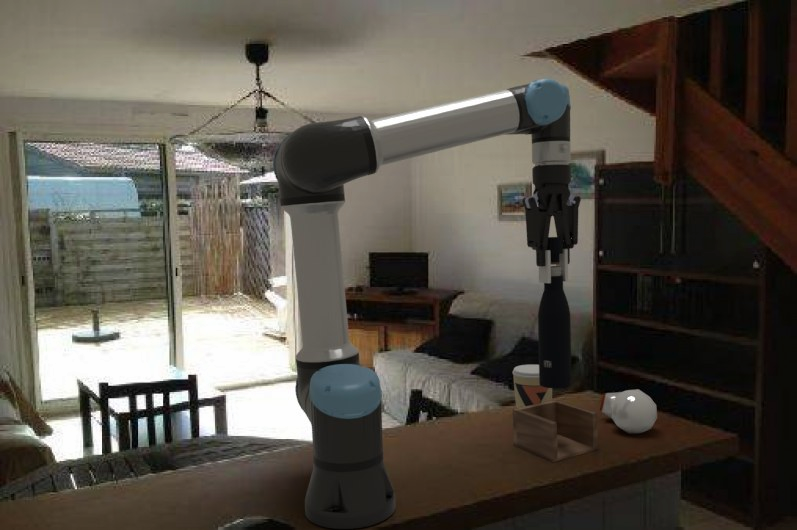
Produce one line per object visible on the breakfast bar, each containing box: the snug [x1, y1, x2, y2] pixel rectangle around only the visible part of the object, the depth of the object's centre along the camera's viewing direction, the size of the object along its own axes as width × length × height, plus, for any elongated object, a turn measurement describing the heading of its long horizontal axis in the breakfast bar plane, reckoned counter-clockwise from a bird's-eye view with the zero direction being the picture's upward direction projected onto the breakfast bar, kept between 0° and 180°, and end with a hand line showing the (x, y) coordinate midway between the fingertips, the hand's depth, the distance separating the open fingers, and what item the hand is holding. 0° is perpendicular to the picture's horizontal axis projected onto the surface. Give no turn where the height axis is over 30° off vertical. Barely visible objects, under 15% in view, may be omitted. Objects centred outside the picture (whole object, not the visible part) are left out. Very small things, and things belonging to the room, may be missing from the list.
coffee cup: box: [512, 364, 553, 409], centre depth 160 cm, size 9×9×12 cm
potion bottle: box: [599, 389, 658, 434], centre depth 151 cm, size 9×10×15 cm
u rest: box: [512, 399, 599, 463], centre depth 141 cm, size 12×12×8 cm
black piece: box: [537, 236, 572, 390], centre depth 139 cm, size 6×6×30 cm
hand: (553, 281), depth 138 cm, fingers closed on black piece, 4 cm apart
